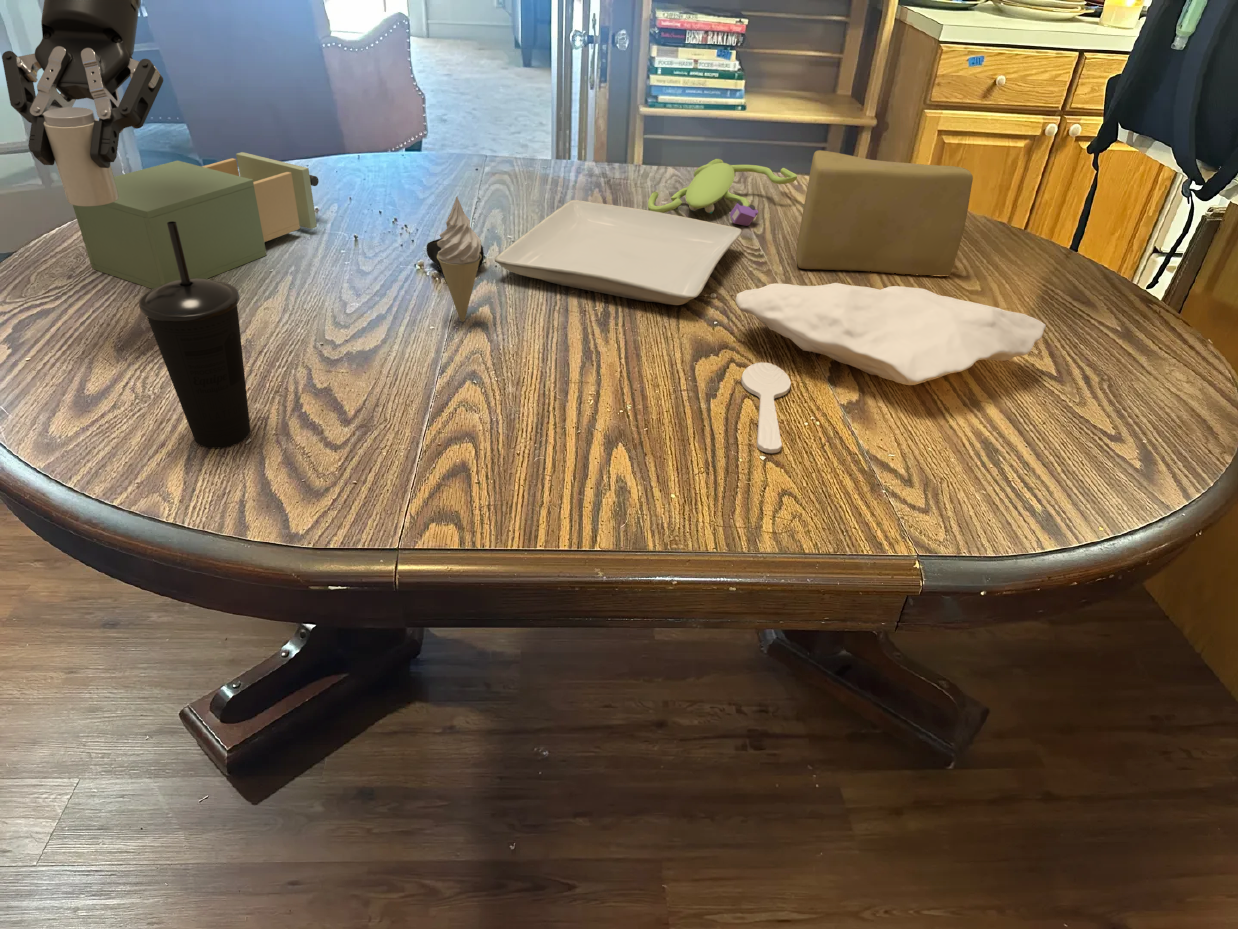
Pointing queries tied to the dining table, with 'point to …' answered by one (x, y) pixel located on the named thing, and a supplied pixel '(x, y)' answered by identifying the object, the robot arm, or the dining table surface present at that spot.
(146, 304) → the drinking cup
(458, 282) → the ice cream cone
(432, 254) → the tape measure
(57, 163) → the salt shaker
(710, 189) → the figurine
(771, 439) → the spoon
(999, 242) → the dining table surface
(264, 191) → the drawer
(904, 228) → the brown rectangular block
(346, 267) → the dining table surface
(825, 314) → the white rock slab
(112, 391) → the dining table surface
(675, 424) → the dining table surface
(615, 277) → the square plate
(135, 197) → the cabinet
